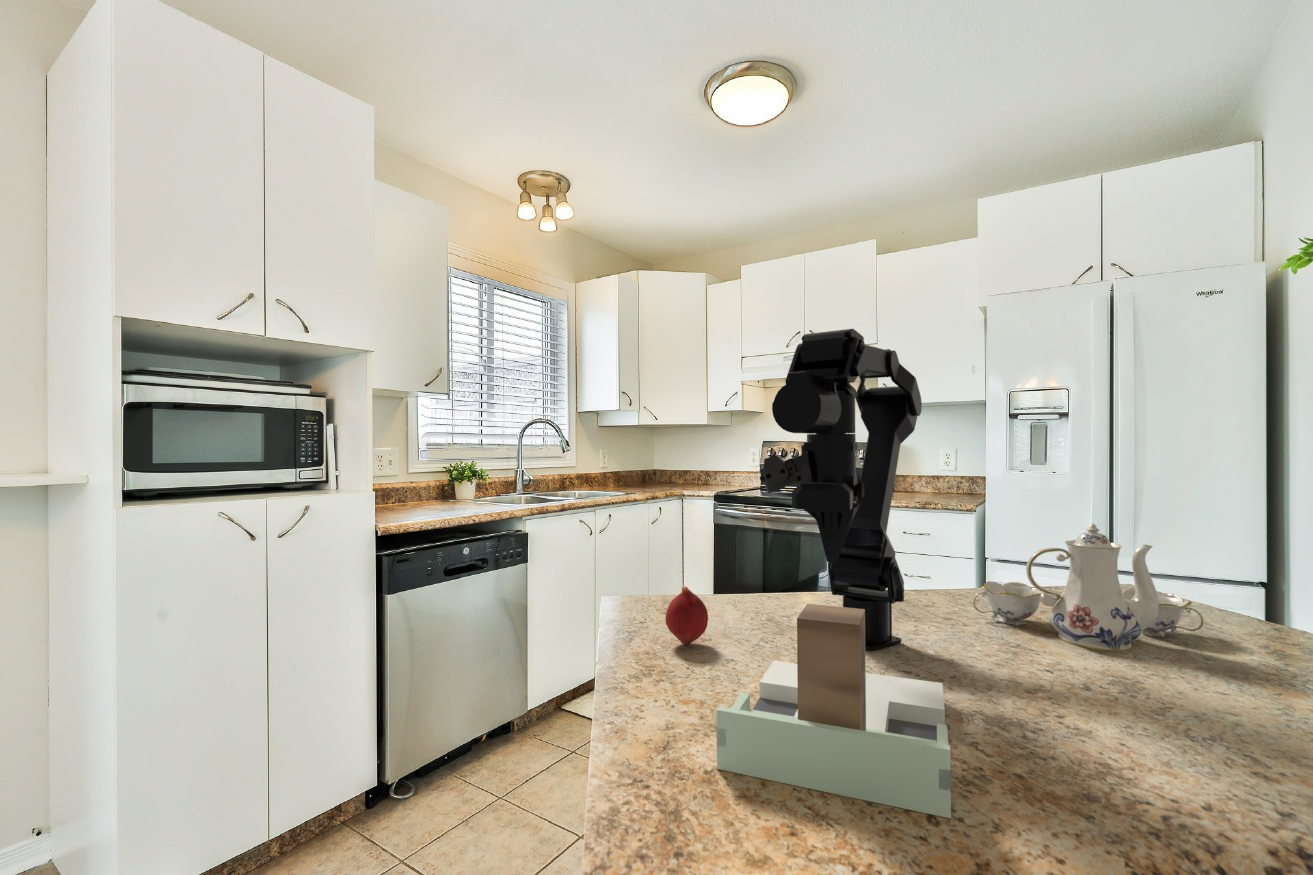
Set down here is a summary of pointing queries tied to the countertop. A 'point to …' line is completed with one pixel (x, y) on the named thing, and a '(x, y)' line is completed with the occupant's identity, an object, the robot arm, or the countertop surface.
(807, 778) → the box
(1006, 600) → the chinaware
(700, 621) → the onion
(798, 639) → the walnut block
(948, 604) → the countertop surface
